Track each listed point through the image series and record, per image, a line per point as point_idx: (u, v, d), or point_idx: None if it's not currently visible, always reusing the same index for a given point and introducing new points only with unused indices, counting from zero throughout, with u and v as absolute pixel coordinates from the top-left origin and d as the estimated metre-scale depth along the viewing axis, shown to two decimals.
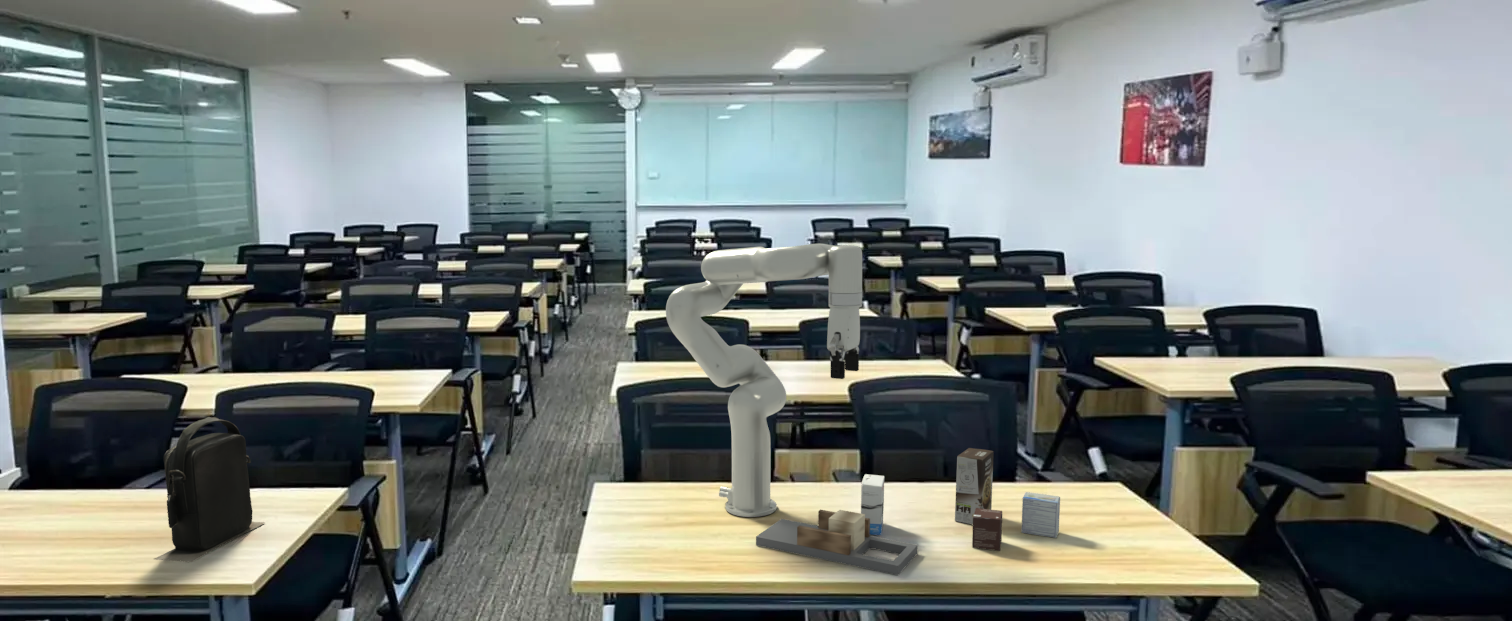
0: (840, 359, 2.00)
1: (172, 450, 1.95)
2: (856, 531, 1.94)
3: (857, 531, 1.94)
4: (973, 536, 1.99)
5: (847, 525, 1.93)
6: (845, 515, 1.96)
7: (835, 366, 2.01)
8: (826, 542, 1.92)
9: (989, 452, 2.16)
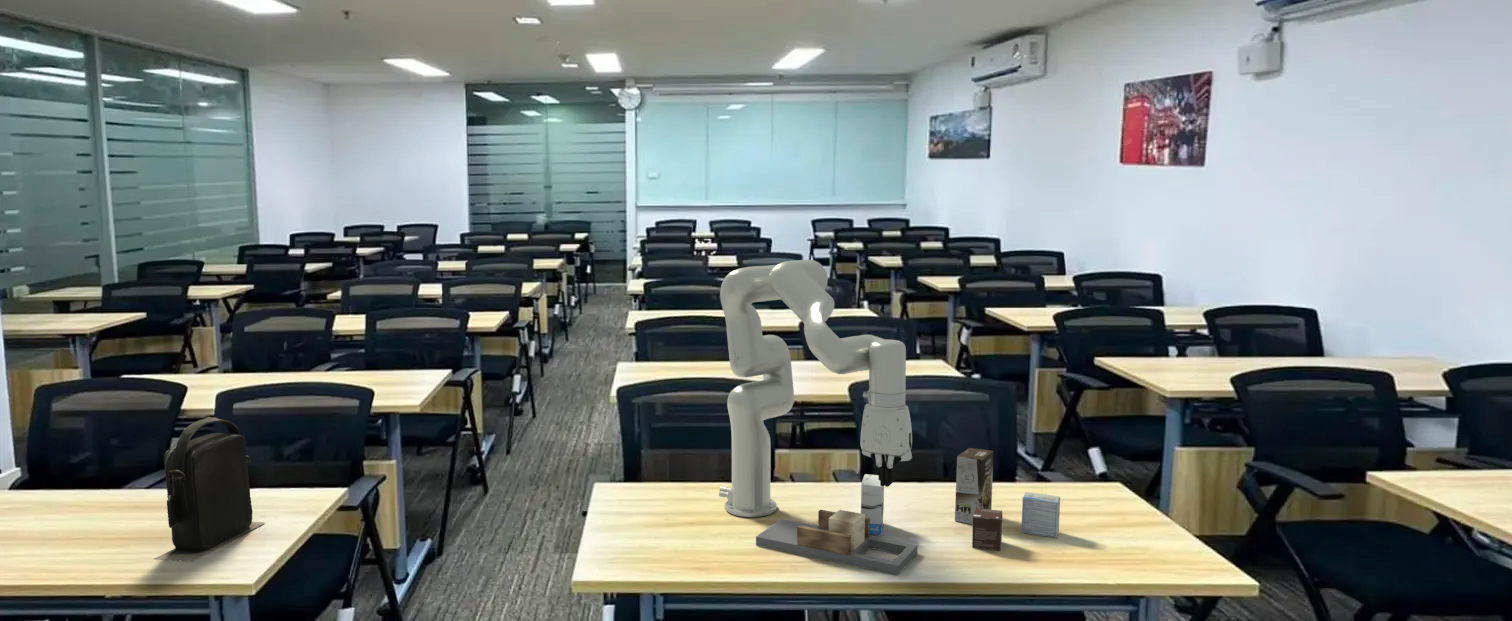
0: None
1: (172, 450, 1.95)
2: (856, 531, 1.94)
3: (857, 531, 1.94)
4: (973, 536, 1.99)
5: (847, 525, 1.93)
6: (845, 515, 1.96)
7: (892, 472, 1.89)
8: (826, 542, 1.92)
9: (989, 452, 2.16)
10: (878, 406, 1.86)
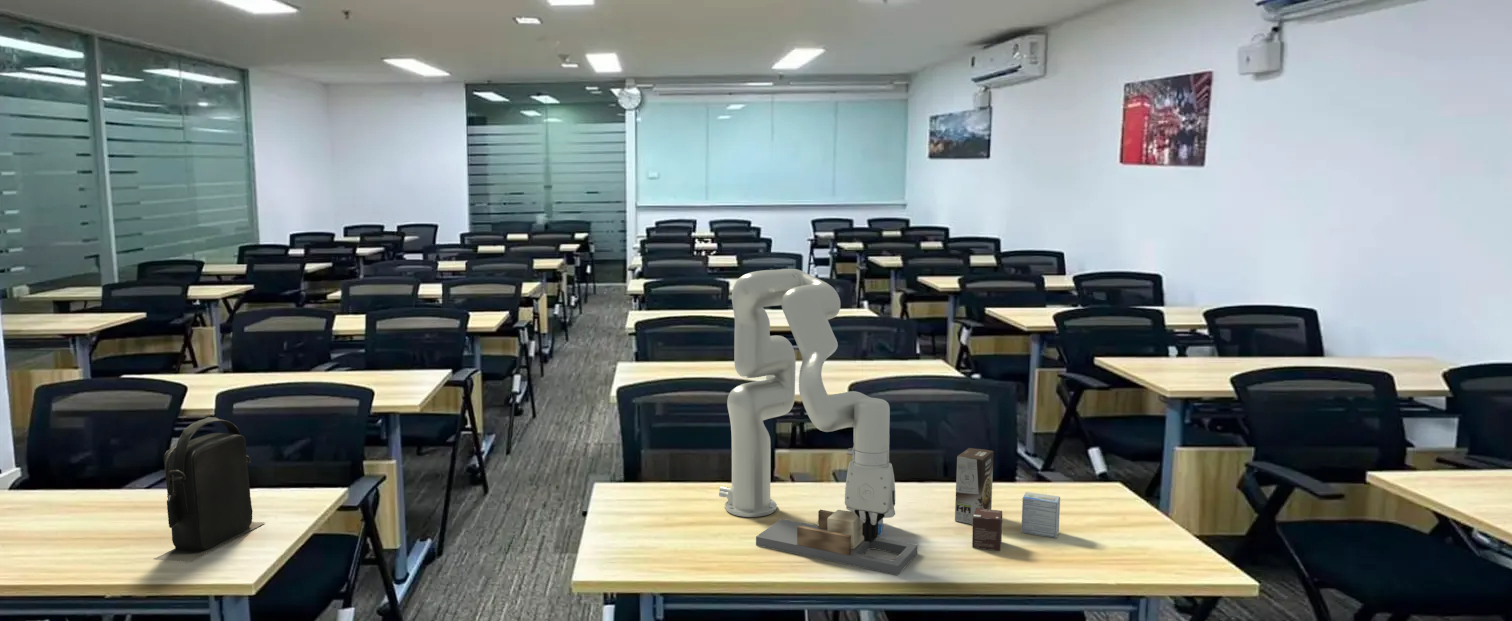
0: None
1: (172, 450, 1.95)
2: (855, 530, 1.94)
3: (856, 530, 1.94)
4: (973, 536, 1.99)
5: (845, 524, 1.93)
6: (844, 515, 1.96)
7: (876, 528, 1.93)
8: (826, 542, 1.92)
9: (989, 452, 2.16)
10: (862, 464, 1.89)
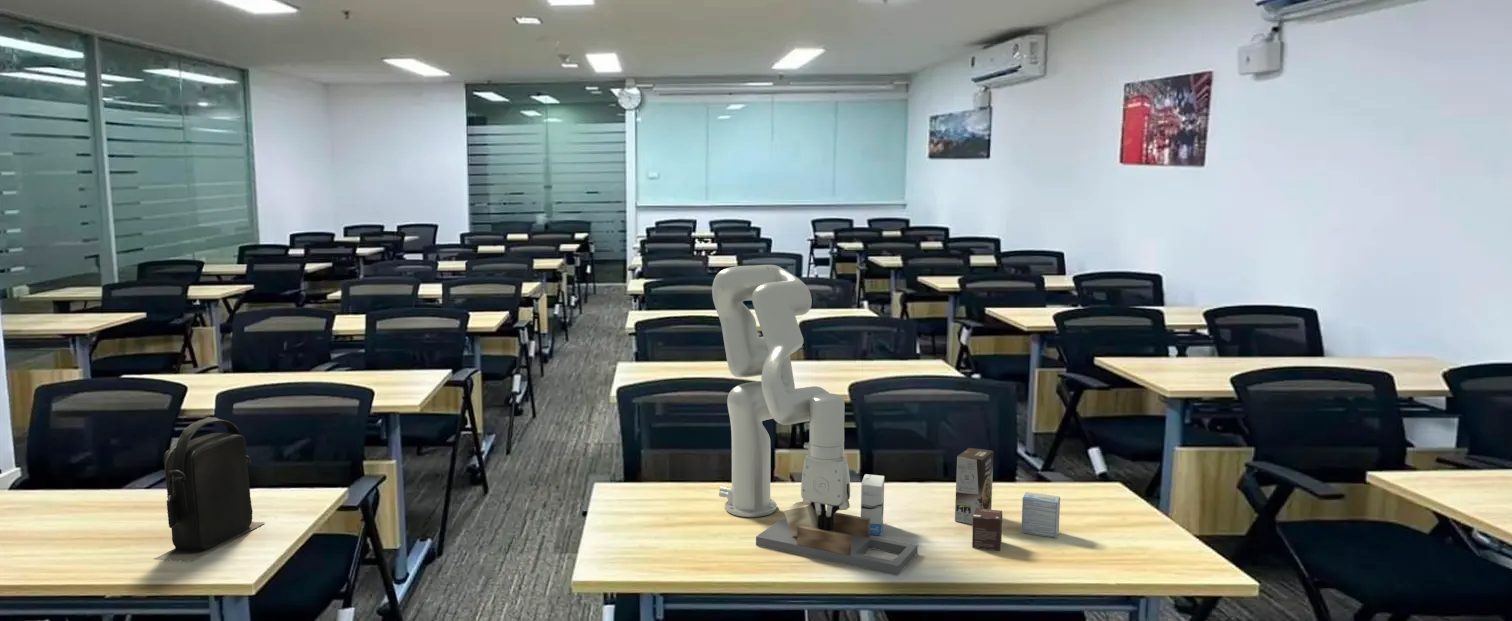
0: None
1: (172, 450, 1.95)
2: (812, 514, 1.98)
3: (813, 515, 1.99)
4: (973, 536, 1.99)
5: (801, 511, 1.98)
6: (800, 504, 2.02)
7: (831, 520, 1.98)
8: (826, 542, 1.92)
9: (989, 452, 2.16)
10: (817, 458, 1.94)
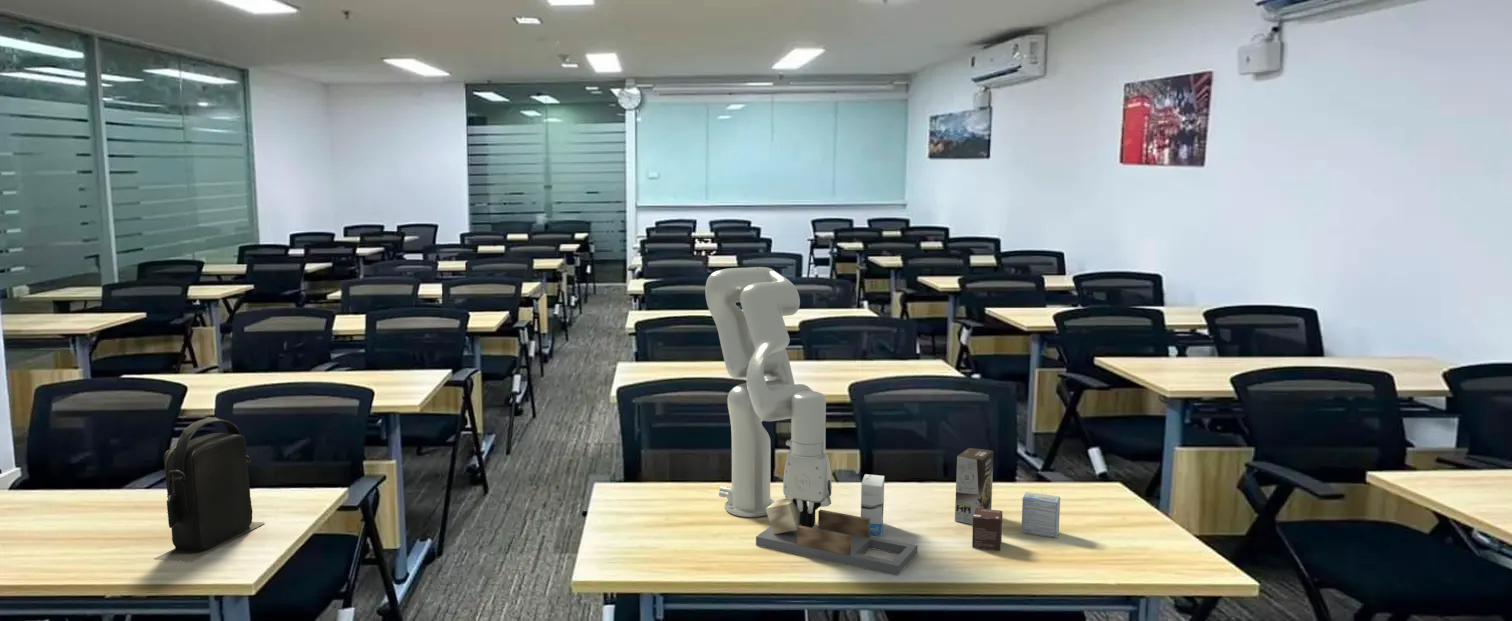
0: None
1: (172, 450, 1.95)
2: (794, 511, 2.00)
3: (795, 512, 2.01)
4: (973, 536, 1.99)
5: (783, 508, 2.00)
6: (781, 502, 2.03)
7: (813, 517, 2.00)
8: (826, 542, 1.92)
9: (989, 452, 2.16)
10: (798, 455, 1.96)
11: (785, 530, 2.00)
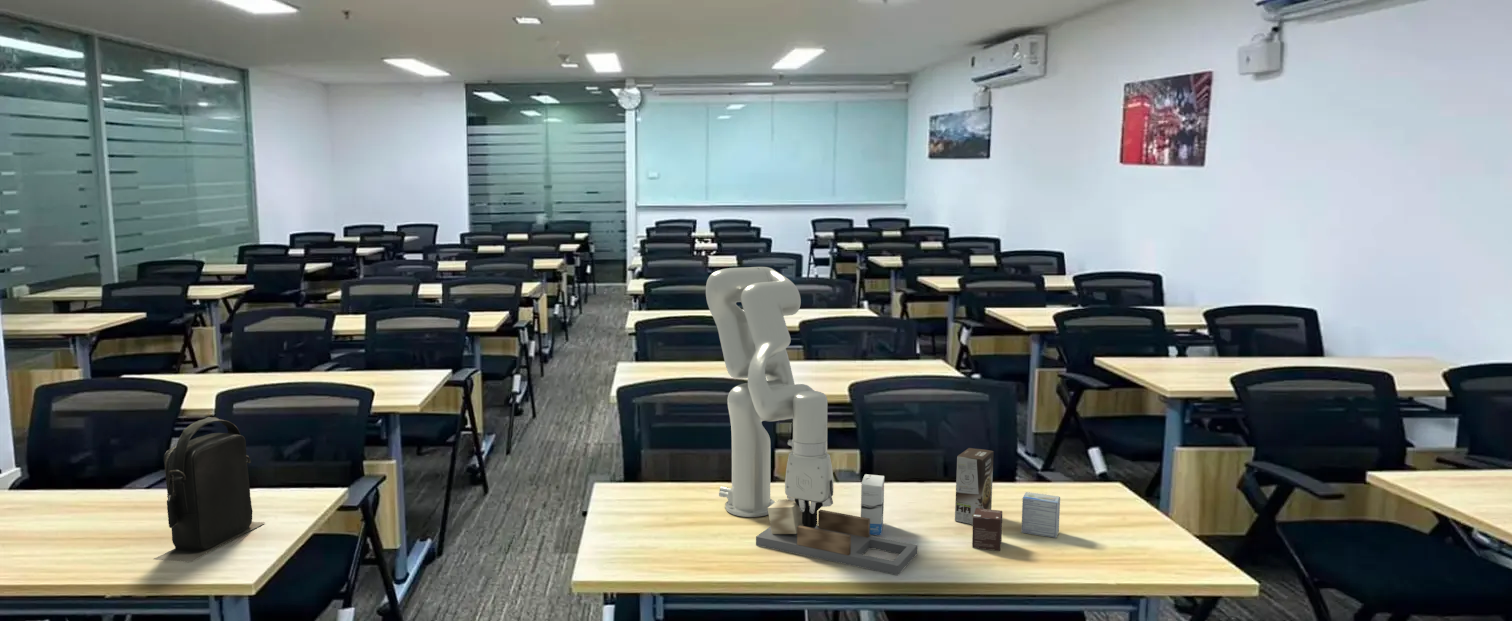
0: None
1: (172, 450, 1.95)
2: (795, 515, 2.00)
3: (796, 515, 2.00)
4: (973, 536, 1.99)
5: (785, 511, 2.00)
6: (784, 503, 2.03)
7: (815, 517, 1.99)
8: (826, 542, 1.92)
9: (989, 452, 2.16)
10: (800, 455, 1.95)
11: (784, 532, 2.00)
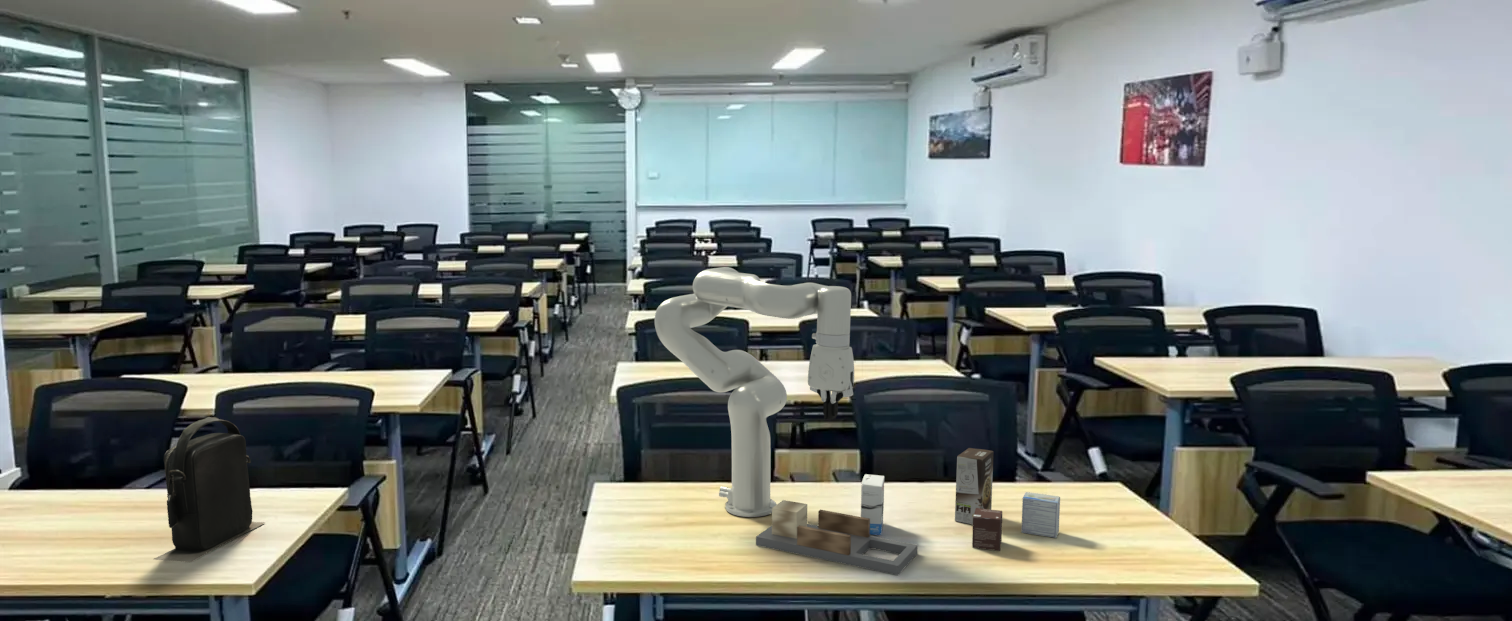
0: (839, 399, 2.09)
1: (172, 450, 1.95)
2: (799, 520, 2.00)
3: (799, 520, 2.00)
4: (973, 536, 1.99)
5: (789, 515, 1.99)
6: (788, 505, 2.03)
7: (835, 407, 2.08)
8: (826, 542, 1.92)
9: (989, 452, 2.16)
10: (823, 346, 2.04)
11: (784, 534, 2.00)
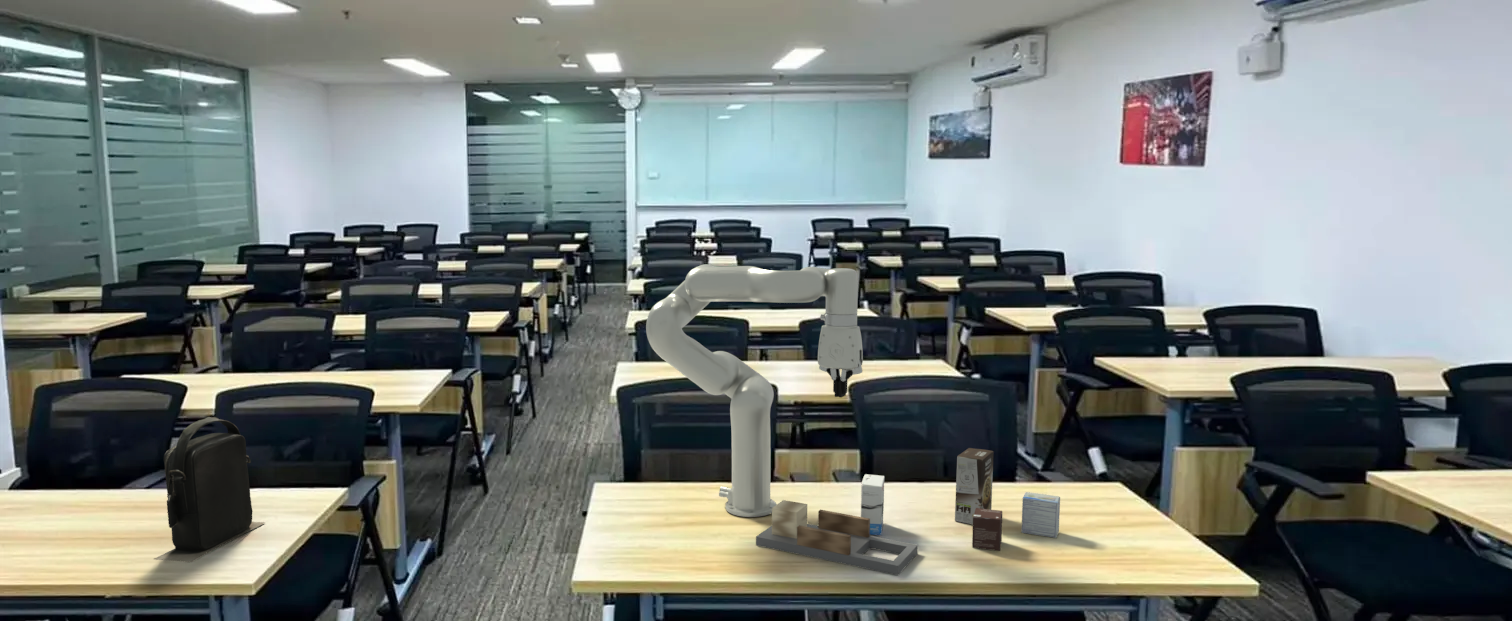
0: (848, 377, 2.17)
1: (172, 450, 1.95)
2: (799, 520, 2.00)
3: (799, 520, 2.00)
4: (973, 536, 1.99)
5: (789, 515, 1.99)
6: (788, 505, 2.03)
7: (845, 385, 2.16)
8: (826, 542, 1.92)
9: (989, 452, 2.16)
10: (833, 325, 2.12)
11: (784, 534, 2.00)
